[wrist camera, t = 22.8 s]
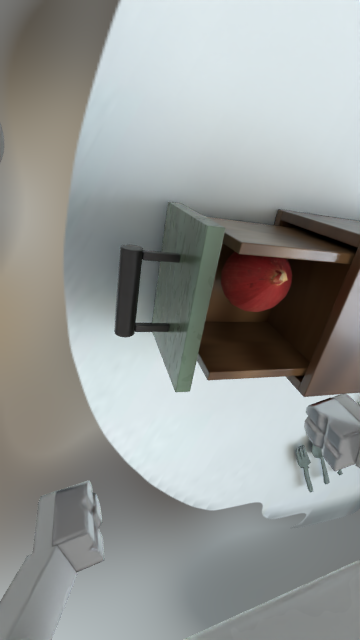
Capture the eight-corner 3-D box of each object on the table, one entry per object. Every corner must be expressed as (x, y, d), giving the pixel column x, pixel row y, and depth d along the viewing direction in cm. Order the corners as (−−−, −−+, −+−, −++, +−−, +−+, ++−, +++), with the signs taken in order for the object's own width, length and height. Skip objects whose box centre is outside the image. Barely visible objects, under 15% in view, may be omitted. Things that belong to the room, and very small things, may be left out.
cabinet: (243, 329, 36) (303, 397, 27) (278, 208, 30) (372, 238, 20) (341, 330, 41) (423, 387, 31) (388, 225, 35) (509, 255, 25)
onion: (211, 246, 29) (251, 229, 21) (265, 252, 30) (321, 238, 23) (206, 307, 29) (244, 312, 22) (260, 311, 31) (314, 316, 23)
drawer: (107, 328, 30) (117, 396, 22) (115, 194, 25) (132, 216, 17) (264, 329, 36) (318, 383, 28) (299, 219, 30) (380, 246, 22)
